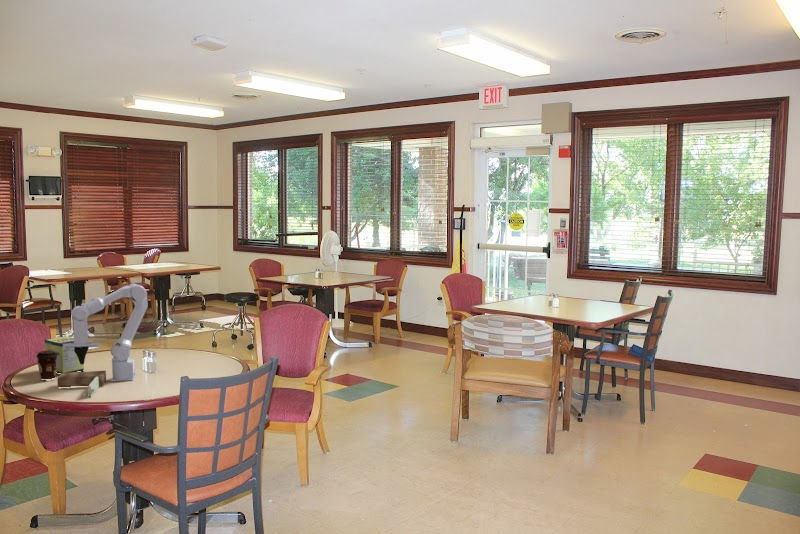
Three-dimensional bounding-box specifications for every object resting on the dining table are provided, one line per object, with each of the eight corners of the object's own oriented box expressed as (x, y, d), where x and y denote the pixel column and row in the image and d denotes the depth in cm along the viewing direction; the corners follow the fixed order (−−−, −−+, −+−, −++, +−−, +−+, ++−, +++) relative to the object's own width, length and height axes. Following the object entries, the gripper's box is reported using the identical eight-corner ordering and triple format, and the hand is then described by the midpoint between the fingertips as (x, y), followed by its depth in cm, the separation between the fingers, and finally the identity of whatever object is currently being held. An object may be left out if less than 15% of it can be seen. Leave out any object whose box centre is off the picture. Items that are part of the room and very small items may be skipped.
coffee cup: (35, 382, 301) (33, 354, 300) (39, 378, 309) (38, 350, 308) (56, 381, 303) (55, 353, 302) (60, 376, 311) (59, 349, 310)
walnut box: (106, 381, 304) (105, 370, 303) (102, 386, 295) (102, 375, 295) (62, 384, 299) (62, 373, 299) (57, 389, 291) (57, 378, 290)
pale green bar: (96, 386, 294) (96, 376, 294) (101, 386, 295) (101, 376, 294) (88, 397, 278) (88, 386, 278) (93, 396, 279) (93, 386, 278)
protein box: (66, 367, 330) (65, 335, 329) (84, 371, 322) (83, 339, 320) (45, 371, 322) (43, 339, 320) (63, 376, 313) (61, 343, 312)
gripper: (60, 336, 290) (62, 367, 292) (97, 334, 294) (98, 365, 295) (64, 333, 297) (65, 363, 298) (99, 331, 301) (101, 361, 302)
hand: (82, 363), depth 297 cm, fingers closed
